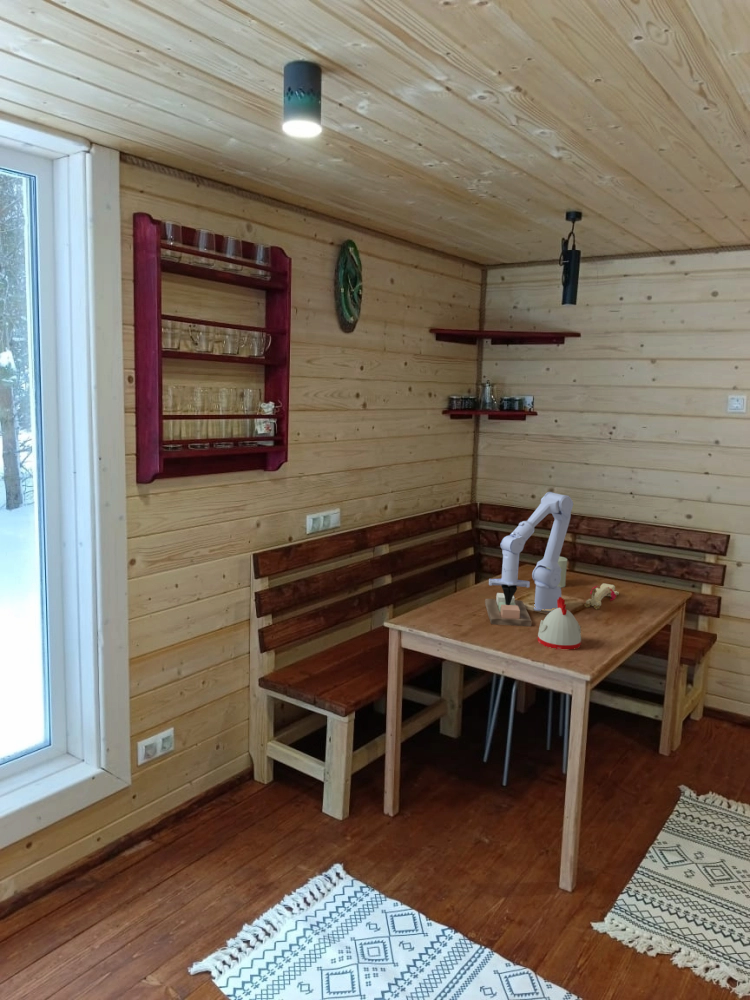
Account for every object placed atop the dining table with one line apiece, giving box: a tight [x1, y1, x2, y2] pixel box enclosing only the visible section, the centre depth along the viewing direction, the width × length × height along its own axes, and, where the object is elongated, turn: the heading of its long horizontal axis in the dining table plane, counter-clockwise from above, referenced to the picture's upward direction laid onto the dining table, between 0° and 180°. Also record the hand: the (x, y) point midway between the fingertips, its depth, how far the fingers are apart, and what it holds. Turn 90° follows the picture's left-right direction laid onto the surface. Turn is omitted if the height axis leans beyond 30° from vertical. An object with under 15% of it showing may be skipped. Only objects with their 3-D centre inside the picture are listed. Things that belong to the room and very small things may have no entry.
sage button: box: [498, 602, 516, 612], centre depth 276 cm, size 6×6×4 cm
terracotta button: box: [500, 605, 520, 619], centre depth 268 cm, size 6×6×4 cm
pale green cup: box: [547, 555, 568, 589], centre depth 318 cm, size 9×9×12 cm
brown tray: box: [484, 598, 532, 627], centre depth 276 cm, size 14×24×2 cm, turn 177°
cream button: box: [495, 592, 515, 605], centre depth 283 cm, size 6×6×4 cm
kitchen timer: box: [537, 596, 582, 650], centre depth 248 cm, size 14×14×15 cm
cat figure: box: [583, 582, 620, 610], centre depth 298 cm, size 10×9×25 cm
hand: (507, 605), depth 275 cm, fingers closed, pressing on sage button
